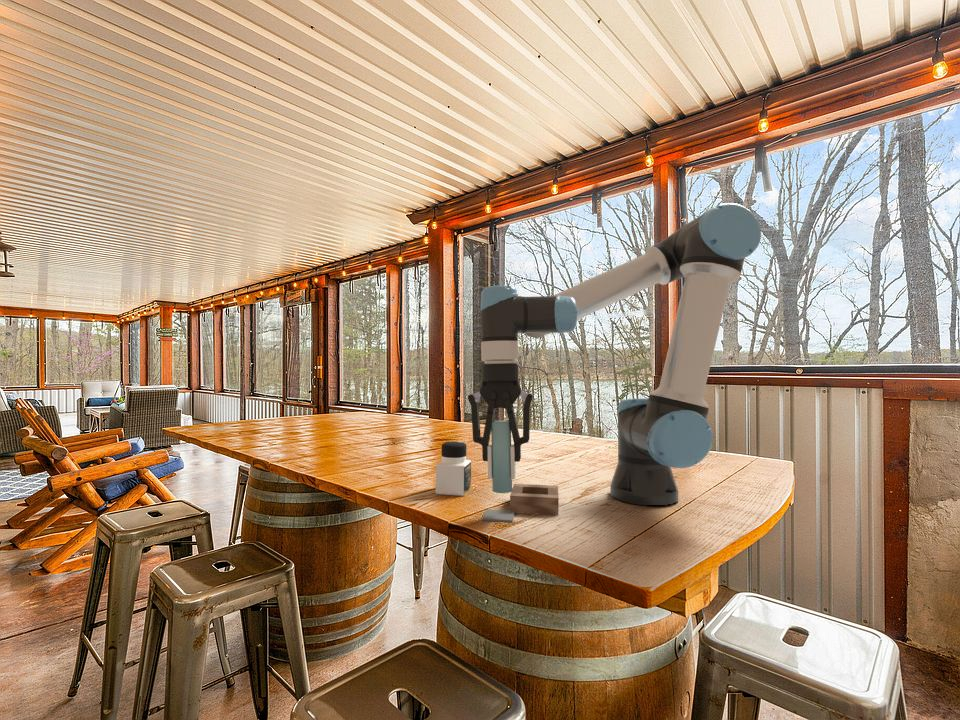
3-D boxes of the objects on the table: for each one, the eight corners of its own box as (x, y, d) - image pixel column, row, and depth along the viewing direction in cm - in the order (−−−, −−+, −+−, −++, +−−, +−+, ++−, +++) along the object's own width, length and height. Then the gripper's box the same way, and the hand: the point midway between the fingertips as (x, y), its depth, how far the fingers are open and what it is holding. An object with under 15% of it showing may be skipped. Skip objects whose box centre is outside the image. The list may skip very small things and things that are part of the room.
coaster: (514, 512, 98) (514, 510, 98) (512, 522, 92) (512, 520, 92) (486, 511, 99) (486, 509, 99) (482, 520, 93) (482, 518, 93)
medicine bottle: (464, 496, 110) (464, 445, 110) (435, 494, 111) (435, 443, 111) (471, 488, 117) (471, 440, 117) (443, 486, 118) (443, 439, 118)
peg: (512, 488, 97) (511, 420, 97) (511, 493, 93) (509, 422, 93) (493, 487, 97) (492, 420, 98) (491, 492, 94) (490, 422, 94)
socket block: (557, 501, 106) (557, 485, 106) (558, 515, 96) (558, 498, 96) (513, 498, 108) (513, 483, 108) (510, 512, 98) (510, 495, 98)
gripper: (542, 361, 98) (544, 473, 98) (462, 363, 100) (464, 472, 100) (541, 361, 90) (543, 482, 90) (455, 363, 93) (457, 481, 93)
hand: (502, 477), depth 95 cm, fingers closed on peg, 4 cm apart
